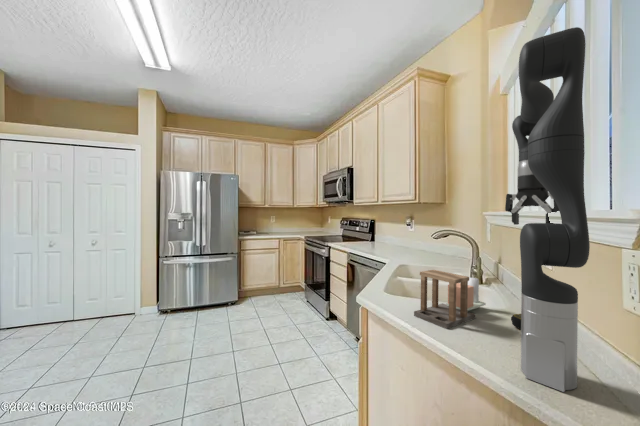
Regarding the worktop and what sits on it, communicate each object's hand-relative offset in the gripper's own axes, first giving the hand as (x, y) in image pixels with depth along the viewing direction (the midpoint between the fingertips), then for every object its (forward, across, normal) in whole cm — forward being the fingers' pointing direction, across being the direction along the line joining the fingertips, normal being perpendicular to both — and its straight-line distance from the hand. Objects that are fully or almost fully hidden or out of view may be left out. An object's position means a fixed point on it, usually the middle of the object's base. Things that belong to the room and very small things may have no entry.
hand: (531, 225), depth 84 cm
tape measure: (+32, 0, -4) cm, 33 cm away
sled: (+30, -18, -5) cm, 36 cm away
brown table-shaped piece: (+32, -18, -19) cm, 42 cm away
